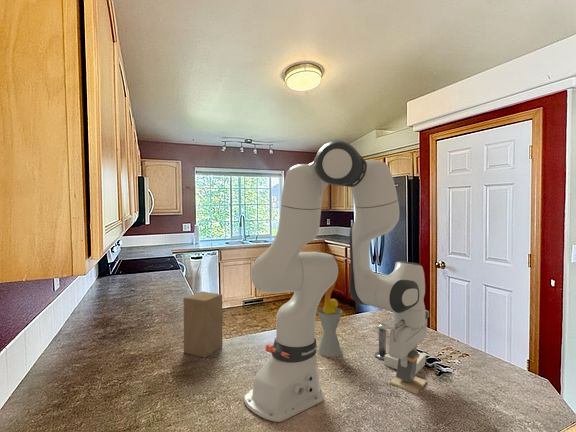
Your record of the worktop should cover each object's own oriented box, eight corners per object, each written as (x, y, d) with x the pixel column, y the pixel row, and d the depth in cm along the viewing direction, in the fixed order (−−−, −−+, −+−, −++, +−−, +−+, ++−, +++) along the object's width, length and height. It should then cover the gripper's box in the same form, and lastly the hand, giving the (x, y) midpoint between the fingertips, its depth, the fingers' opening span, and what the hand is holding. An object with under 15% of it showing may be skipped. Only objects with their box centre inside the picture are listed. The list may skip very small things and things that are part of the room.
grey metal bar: (384, 330, 106) (384, 324, 106) (376, 328, 108) (376, 321, 108) (403, 319, 116) (403, 314, 116) (395, 317, 118) (395, 312, 118)
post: (386, 361, 105) (386, 333, 104) (372, 356, 108) (372, 329, 108) (392, 356, 108) (392, 328, 108) (378, 352, 112) (378, 325, 111)
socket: (414, 375, 96) (415, 365, 96) (384, 364, 102) (384, 355, 102) (425, 363, 103) (425, 354, 103) (396, 354, 110) (396, 346, 110)
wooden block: (223, 347, 116) (222, 293, 115) (205, 358, 107) (205, 300, 106) (201, 342, 120) (201, 291, 120) (183, 353, 111) (182, 297, 111)
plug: (410, 384, 89) (414, 357, 88) (394, 376, 92) (397, 351, 91) (416, 377, 92) (419, 352, 91) (400, 370, 95) (403, 345, 95)
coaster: (417, 394, 86) (417, 392, 86) (389, 383, 91) (389, 381, 91) (426, 382, 92) (426, 380, 92) (400, 372, 97) (400, 371, 97)
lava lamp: (325, 359, 106) (325, 257, 106) (312, 348, 114) (312, 254, 114) (347, 354, 110) (347, 256, 109) (333, 344, 118) (333, 253, 118)
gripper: (405, 328, 81) (405, 380, 82) (430, 310, 97) (430, 354, 97) (382, 322, 86) (382, 372, 86) (410, 306, 101) (410, 348, 101)
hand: (408, 362), depth 91 cm, fingers closed on plug, 4 cm apart
